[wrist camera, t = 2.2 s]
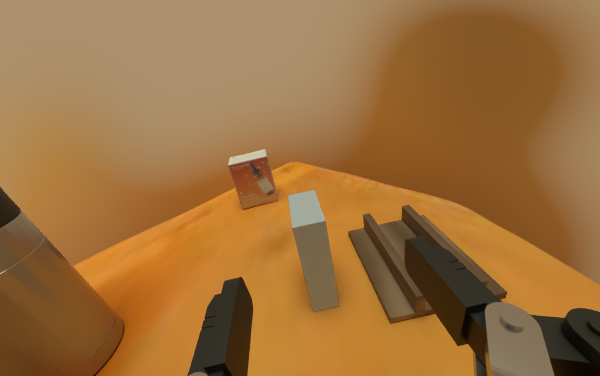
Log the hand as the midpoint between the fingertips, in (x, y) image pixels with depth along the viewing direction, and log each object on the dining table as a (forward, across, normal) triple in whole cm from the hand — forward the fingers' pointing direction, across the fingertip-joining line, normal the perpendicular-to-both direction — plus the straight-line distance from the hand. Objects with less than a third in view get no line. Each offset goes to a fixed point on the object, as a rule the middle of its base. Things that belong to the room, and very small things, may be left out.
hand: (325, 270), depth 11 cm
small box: (+38, +9, +15) cm, 41 cm away
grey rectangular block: (+12, 0, +15) cm, 19 cm away
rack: (+12, -12, +15) cm, 23 cm away
